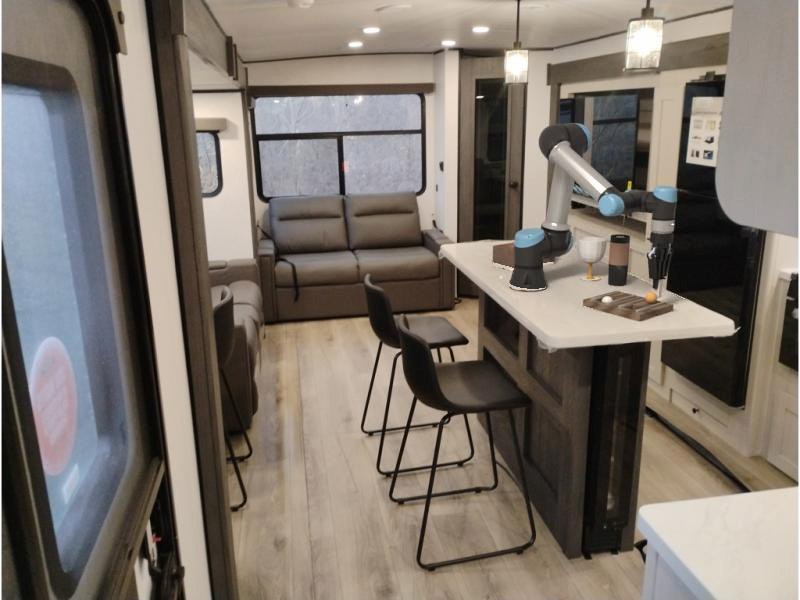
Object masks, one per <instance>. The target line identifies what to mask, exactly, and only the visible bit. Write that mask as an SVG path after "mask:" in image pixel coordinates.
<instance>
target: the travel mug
mask: <svg viewBox="0 0 800 600" xmlns="http://www.w3.org/2000/svg"><path fill="white" fill-rule="evenodd" d="M609 241H610V242H609V253H608V254H609V255H608V272H607V273H608V274H607V277H608V278H607V283H608V285H609V286H612V285H613V287H624V285H625V286H626V285H627V281H628V273H629V272H628V271H629V260H630V246H631V243H630V242H631V236H630V235H628V234H620V233H619V234H617V233H616V234H611V235H610V238H609Z"/></svg>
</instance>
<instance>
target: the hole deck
mask: <svg viewBox="0 0 800 600" xmlns="http://www.w3.org/2000/svg"><path fill="white" fill-rule="evenodd" d="M605 296H609V297H611V298H612V299H613V301H611V302H607V303H604V302H602V299H603V298H604V297H605ZM584 306H586V307H585V308H588V307H589V308H590V309H591V308H593V309H592V310H595V309H596V310H595V311H599V312H603V313H606V314H611V315H613V316H617V317H620V318H625V319H629V320H632V321H635V322H639V323H640V322H643V321H646V320H649V319H652V318H656V317H659V316H662V315H665V314H668V312H669V313H672V312H673V311H674V304H673V303H669V302H665V301H661V300H658V299H657V300H656V302H654V303H648V302H647V301H646V299H645V297H644V296H640V295H636V294H632V293H628V292H627V293H626V292H623V291H620V290H614V291H610V292H607V293H603V294H598V295H596V296H592V297H588V298H584V299H582V307H584ZM589 308H588V309H589ZM671 311H672V312H671Z"/></svg>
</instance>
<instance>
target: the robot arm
mask: <svg viewBox="0 0 800 600" xmlns="http://www.w3.org/2000/svg"><path fill="white" fill-rule="evenodd" d="M592 137H593V136H592V134H591V131H590V130H589V129H588V127H587V126H586V125H585V124H582V123H576V122H570V123H568V122H567V123H554V124H550V125H548V126H546V127H545V128H543V130H542V131H541V133H540V135H539V138H538V148H539V150H540V153H541V154H542V155H543V156H544V158H545V159H547V161H549V162H550V163H551V164H554V167H553V174H552V180H551V187H550V192H549V193H550V194H549V199H548V204H547V205H548V206H547V211H546V218H545V220H544V221H542V222H541V225H540V227H539V228H538V227H531V228H524V229H520V230H518V231H517V232H516V233H515V235H514V241H513V242H514V270H513V271H512V273H511V275H510V276H511V277H510V279H509V283H510V284H511V285H513V286H516V287H520V288H527V289H539V288H545V287H546V286H547V287H548V282H547V279H546V276H545V271H544V266H543V259H548V258H554V257H555V258H559V257H562V256H565V255H567V254H568V253H569V252H571V250H572V248H573V246H574V236H573V233H572V231H571V230H570V229H571V226H570V224H568V220H569V214H570V207H571V203H572V196H573V192H574V191H573V190H574V188H575V187H574V186H575V182H576V184H578V185H579V186H580V187H581V189H583V191H585V192H586V193H587V194H588V195H590V196H591V198H593V200H594V201H596V202H597V203H598V204H597V205H598V209H599V212H600V214H601V215H603V216H604V217H617V216H622V215H628V214H636V213H644V214H645V213H646V214H647V213H648V214H651V221H650V222H651V223H650V231H651V232H650V234H649V242H650V243H651V244H652V246H651V249H650V252H647V253H646V258H647V266H648V268H647V269H648V278H649V279H651V280H652V291H651V292H654V293H655V294H656V295H657V299H660V298H662V292H663V291H662V290H663V284H664V283H663V281H665V280H667V276H668V274H669V270H670V265H671V261H672V256H673V254H674V252H675V251H674V249H672V248H670V247H671V244H673V242H674V233H673V232H674V230H675V221H676V220H675V219H676V209H677V202H678V189H677V187H675V186H667V185H661V186H660V185H659V186H655V187H654V189H653V190H652V191H649V190H639V189H626V190H625V191H624V192H621V191H620V190H618V189H617V188H616V186H613V184H611V183H610V182H609V180H607V179H606V178H605V177H604V176H602V174H600V173H599V172H598V171H597V170H596V169H595V168H594V167H593V166H591V164H589V163H588V162H587V161H586V160H585V159H584V158H583V157H584V154H586V153H587V152H588V151H589V150H590V149H591V147H592ZM509 283H508V284H509Z"/></svg>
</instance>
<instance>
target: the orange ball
mask: <svg viewBox="0 0 800 600" xmlns="http://www.w3.org/2000/svg"><path fill="white" fill-rule="evenodd" d="M645 299H646V301H647V302H648V303H654V302H656V300H657V301H658V298H657V295H656V294H655V293H654V292H652V291H649V292H647V293H646V294H645Z"/></svg>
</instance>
